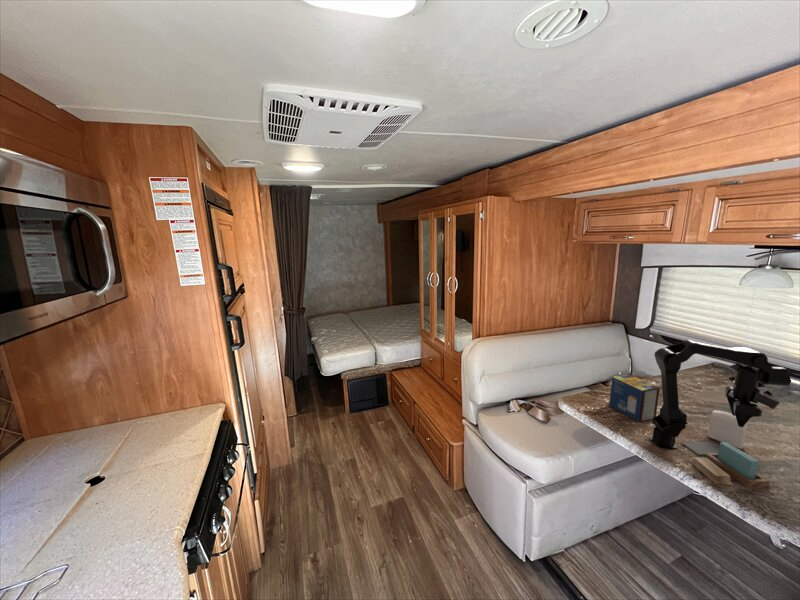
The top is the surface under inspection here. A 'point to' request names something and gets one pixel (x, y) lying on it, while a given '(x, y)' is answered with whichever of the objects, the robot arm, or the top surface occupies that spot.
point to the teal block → (738, 460)
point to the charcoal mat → (702, 447)
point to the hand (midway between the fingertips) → (737, 421)
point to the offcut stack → (711, 470)
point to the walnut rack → (756, 482)
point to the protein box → (634, 397)
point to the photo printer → (726, 429)
